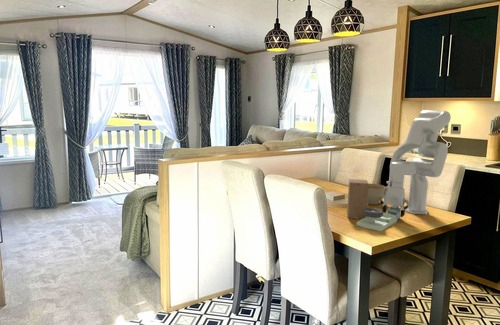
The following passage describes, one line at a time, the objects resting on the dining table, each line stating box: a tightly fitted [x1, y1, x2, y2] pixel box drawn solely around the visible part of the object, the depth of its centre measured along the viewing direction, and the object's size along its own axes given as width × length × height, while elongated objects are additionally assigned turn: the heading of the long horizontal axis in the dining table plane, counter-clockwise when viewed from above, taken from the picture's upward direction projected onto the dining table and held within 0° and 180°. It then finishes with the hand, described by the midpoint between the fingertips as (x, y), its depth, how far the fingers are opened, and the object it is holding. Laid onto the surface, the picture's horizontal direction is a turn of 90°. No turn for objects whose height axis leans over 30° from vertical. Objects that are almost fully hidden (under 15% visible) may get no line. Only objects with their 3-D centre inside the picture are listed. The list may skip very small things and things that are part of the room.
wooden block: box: [346, 178, 369, 219], centre depth 216 cm, size 10×10×20 cm
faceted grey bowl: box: [363, 207, 383, 218], centre depth 198 cm, size 9×9×2 cm
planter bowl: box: [367, 182, 387, 206], centre depth 245 cm, size 16×16×11 cm
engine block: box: [386, 205, 402, 221], centre depth 213 cm, size 6×5×7 cm
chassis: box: [356, 211, 398, 232], centre depth 203 cm, size 22×13×8 cm, turn 139°
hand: (393, 214), depth 213 cm, fingers open, 9 cm apart
